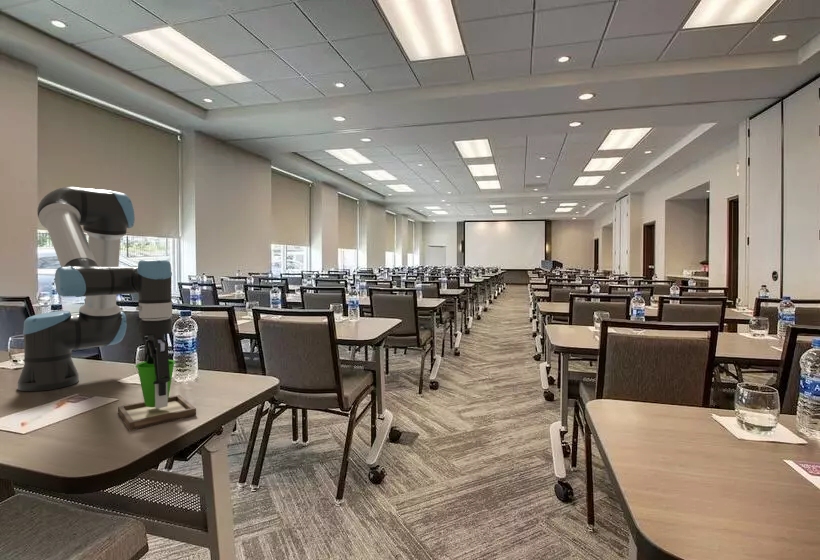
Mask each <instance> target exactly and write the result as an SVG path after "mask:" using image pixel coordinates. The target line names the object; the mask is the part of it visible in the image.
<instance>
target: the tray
mask: <svg viewBox="0 0 820 560" xmlns="http://www.w3.org/2000/svg"><path fill="white" fill-rule="evenodd" d="M117 415H118V416H119V417H120V419H121V420H122V422H123V423H124V425H125V426H126V428H127V429H128V430H129V431H130V432H131V431H135V430H140V429H144V428H149V427H154V426H159V425H161V424H166V423H171V422H175V421H180V420H184V419H189V418H192V417H197V407H195V406H194V405H192V404H191V403H190V402H189V401H188V400H187V399H185V398H184V397H183V396H182V395H180V394H177V395H172V396H169V398H168V406H167V407H162V408H157V409H156V408H155V407H147V406H146V405H145V402H144V401H140V402H135V403H134V402H133V403H130V404H129V403H128V404H124V405H119V406H117Z"/></svg>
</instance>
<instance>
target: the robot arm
mask: <svg viewBox="0 0 820 560" xmlns="http://www.w3.org/2000/svg"><path fill="white" fill-rule="evenodd" d="M134 210H135V209H134V206H133V202H132V200H131V198H130V197H129V196H128V195H127V194H126V193H125V192H124V193H123V192H120V191H113V190H107V189H98V188H97V189H95V188H85V187H77V186H64V187H59V188H57V189H54V190H51V191H50V192H48V193H47V194H46V195H44V196H43V197H42V199H41V200H40V202H39V204H38V207H37V217H38V220H39V223H40V224H41V226H43V227H44V228H45V229H46V230H47V232H48V235H49V238H50V241H51V244H52V246H53V249H54V251H55V254H56V257H57V259H58V262H59V265H60V266H59V267H58V268H57V269H56V270H55V272H54V284H55V285H54V286H55V290H56V293H57V295H59V296H61V297H76V298H81V297H85V301H84V304H83V305H81V306H80V308H79V310H78V311H79V312H78V314H72V312H71V311H69V310H60V311H59V310H58V311H50V312H44V313H39V314H34V315H31V316H29V317H27V318H26V319H25V320H24V321H23V331H22V335H23V349H24V350H23V352H24V353H23V356H24V365H23V367H22V369H21V372H20V375H19V378H18V381H17V391H20V392H21V391H22V392H44V391H51V390H56V389H57V390H58V389H61V388H67V387H69V386H72V385H75V384H77V383H78V382H79V380H80V375H79V372H78V370H77V367H76V366H75V363H74V361H73V357H72V351H73V350H79V349H80V350H81V349H90V348H91V349H92V348H98V347H108V346H111V345H117V344H120V342H122V341H123V339H124V337H125V336H126V331H127V325H128V324H127V315H126V314H125V312H124V311H122V309H121V307H120V306H119V305H117V297H118V295H119V296H120V295H138V296H137V297H138V298H137V299H138V306H136V307H135V310H136V311H138V318H140V320H139V321H138V333H139V334H140V335H142V336H144V337H143V341H144V350H143V351H144V356H143V362H145V361H147V362H148V364H154V367H155V376H156V381H154V382H153V384H155V408H156V409H157V408H162V407H167V406H168V390H167V382H168V381H170V373H169V360H170V359H169V343H168V342H167V341H166V339H165V337H164V335H167V334H170V333H171V332H172V330H173V319H172V318H171V317H172V316H173V306H172V305H173V301H172V276H173V273H172V265H171V262H170V261H169V260H165V259H164V260H163V259H140V260H139V261H138V262H137V265H132V266H119V264H120V254H121V253H120V251H121V250H120V249H121V239H122V238H123V237H125V236H126V235H127V230H128V229H132V228H133V227H134V224H135V211H134ZM82 226H83V228H82ZM85 233H86V234H87V235H88V240H87V237H86V235H85ZM161 377H162V378H161Z"/></svg>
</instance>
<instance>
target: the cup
mask: <svg viewBox="0 0 820 560" xmlns="http://www.w3.org/2000/svg"><path fill="white" fill-rule="evenodd" d="M175 364H176V361H175V360H173V359H169V373H170V381H168V382H167V390H168V398H169V397H170V391H171V390H170V389H171V384H172V378H173V372H174V367H175ZM135 367H136V368H137V370H138V376H139V377H138V378H139V380H140V381H139V382H140V386H141V391H142V396H143V402H145V405H146V406H147V407H155V384H153V382H154V381H156V376H155V367H154V364H148V362H147V361H145V362H144V361H142V362H139V363H137V364H136V365H135ZM161 378H162V377H161Z"/></svg>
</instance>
